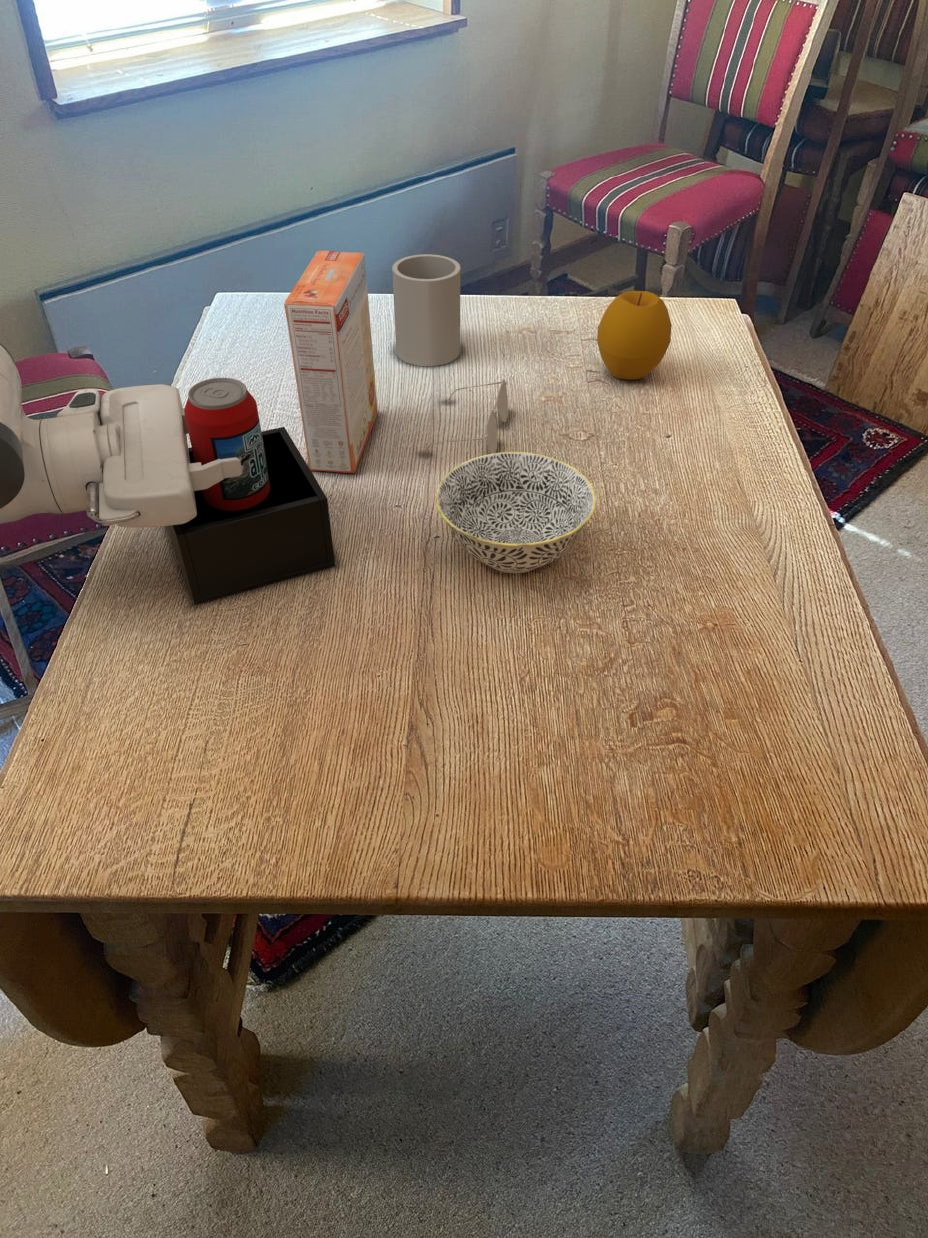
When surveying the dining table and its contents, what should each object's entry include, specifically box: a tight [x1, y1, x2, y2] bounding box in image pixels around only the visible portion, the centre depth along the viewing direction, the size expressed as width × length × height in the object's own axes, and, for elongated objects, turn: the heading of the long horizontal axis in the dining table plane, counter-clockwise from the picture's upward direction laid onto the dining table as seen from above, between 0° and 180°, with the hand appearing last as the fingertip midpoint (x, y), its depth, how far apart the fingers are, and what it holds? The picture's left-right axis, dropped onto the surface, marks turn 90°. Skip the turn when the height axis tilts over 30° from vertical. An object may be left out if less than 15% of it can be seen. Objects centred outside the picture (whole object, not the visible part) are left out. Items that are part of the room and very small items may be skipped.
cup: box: [391, 253, 461, 367], centre depth 125 cm, size 9×9×12 cm
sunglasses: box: [422, 379, 509, 456], centre depth 112 cm, size 14×8×5 cm, turn 168°
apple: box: [596, 290, 672, 381], centre depth 120 cm, size 10×10×12 cm
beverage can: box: [183, 377, 270, 512], centre depth 88 cm, size 7×7×12 cm
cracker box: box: [283, 250, 379, 474], centre depth 104 cm, size 14×6×21 cm, turn 172°
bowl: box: [435, 451, 597, 574], centre depth 93 cm, size 16×16×8 cm
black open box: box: [165, 426, 336, 606], centre depth 93 cm, size 15×15×9 cm
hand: (236, 441), depth 88 cm, fingers closed on beverage can, 7 cm apart
